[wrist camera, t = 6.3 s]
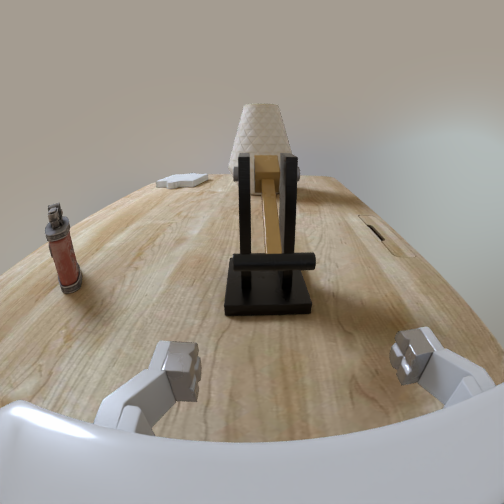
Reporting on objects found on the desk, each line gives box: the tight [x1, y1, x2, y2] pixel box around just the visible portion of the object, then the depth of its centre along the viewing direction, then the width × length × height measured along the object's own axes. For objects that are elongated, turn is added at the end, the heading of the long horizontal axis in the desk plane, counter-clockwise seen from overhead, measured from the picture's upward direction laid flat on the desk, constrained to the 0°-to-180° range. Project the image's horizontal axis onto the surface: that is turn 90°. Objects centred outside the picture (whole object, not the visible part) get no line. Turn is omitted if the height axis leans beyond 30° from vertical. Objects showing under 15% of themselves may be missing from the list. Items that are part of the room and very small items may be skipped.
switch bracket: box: [224, 153, 312, 316], centre depth 27 cm, size 10×8×14 cm
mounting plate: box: [156, 173, 208, 189], centre depth 89 cm, size 18×13×2 cm
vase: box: [228, 104, 292, 195], centre depth 70 cm, size 17×17×23 cm
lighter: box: [45, 203, 82, 293], centre depth 29 cm, size 8×3×10 cm, turn 35°
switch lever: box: [233, 155, 316, 272], centre depth 23 cm, size 12×6×2 cm, turn 1°
